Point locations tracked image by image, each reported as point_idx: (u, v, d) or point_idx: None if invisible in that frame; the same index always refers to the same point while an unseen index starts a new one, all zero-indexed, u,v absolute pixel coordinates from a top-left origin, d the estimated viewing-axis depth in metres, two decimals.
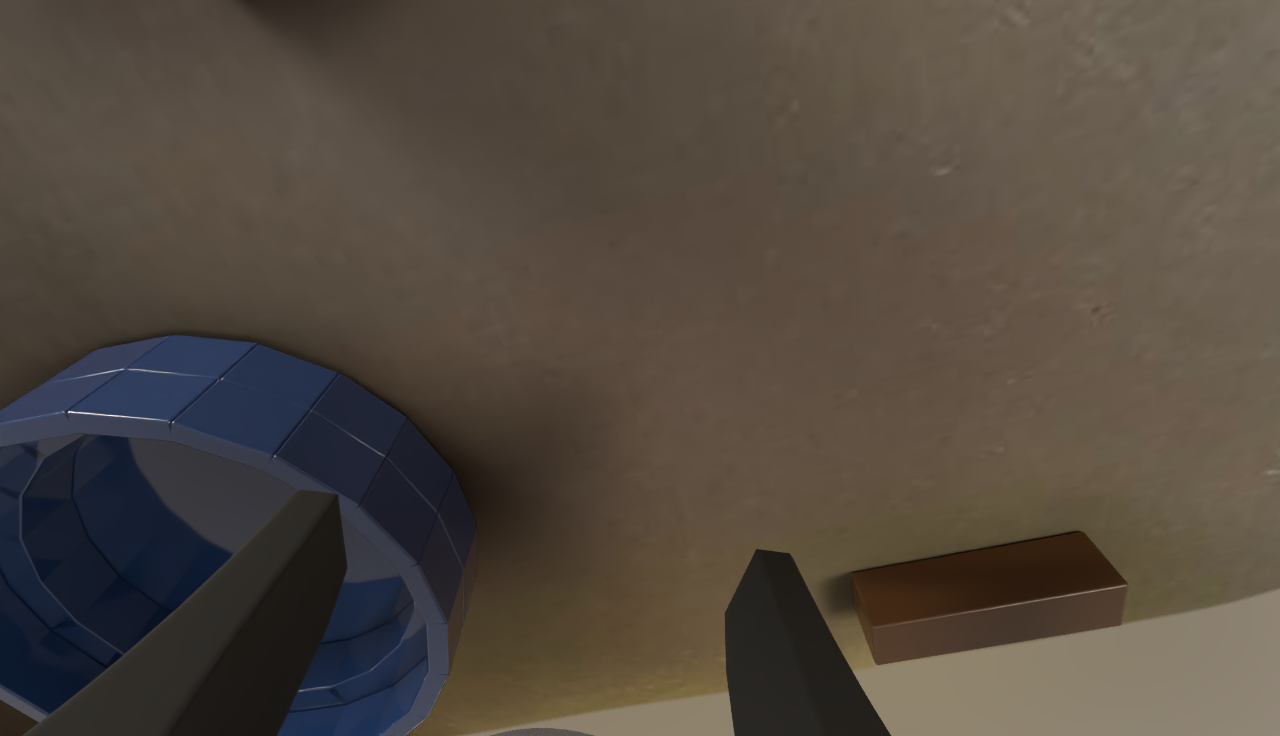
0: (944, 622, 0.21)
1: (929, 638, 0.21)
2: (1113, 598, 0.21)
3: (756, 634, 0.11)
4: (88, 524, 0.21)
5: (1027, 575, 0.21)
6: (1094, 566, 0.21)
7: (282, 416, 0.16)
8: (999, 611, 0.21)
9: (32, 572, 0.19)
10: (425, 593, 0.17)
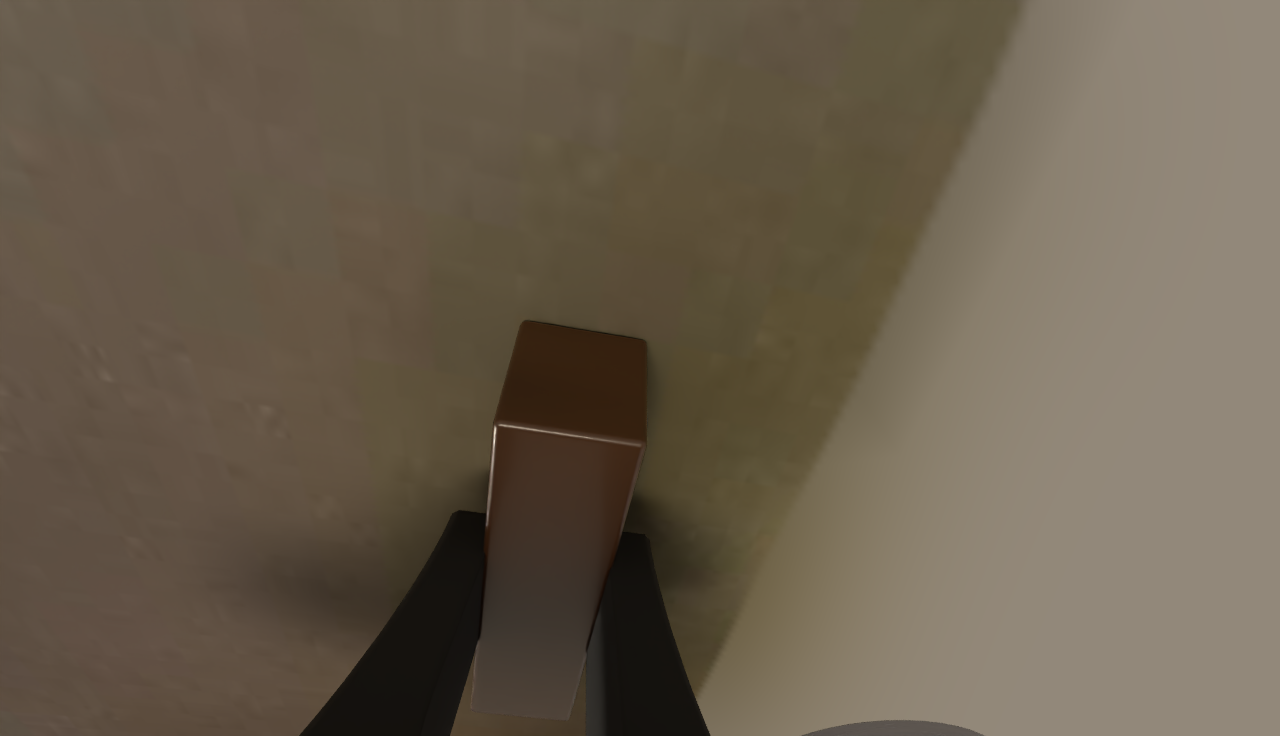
0: (489, 656, 0.12)
1: (527, 673, 0.12)
2: (531, 452, 0.08)
3: (601, 616, 0.10)
4: None
5: None
6: None
7: None
8: (495, 600, 0.11)
9: None
10: None
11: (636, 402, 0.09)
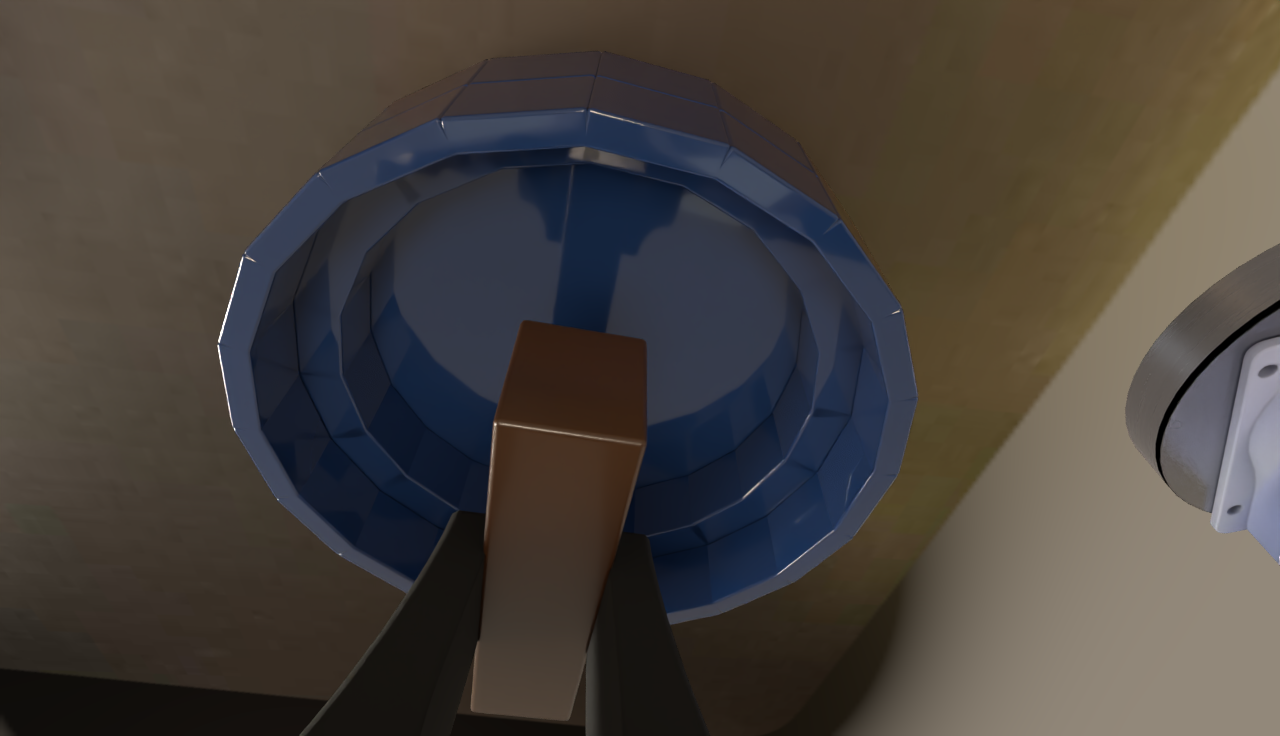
0: (490, 655, 0.12)
1: (527, 673, 0.12)
2: (530, 451, 0.08)
3: (601, 616, 0.10)
4: None
5: None
6: None
7: None
8: (494, 599, 0.11)
9: None
10: (651, 136, 0.10)
11: (636, 401, 0.09)
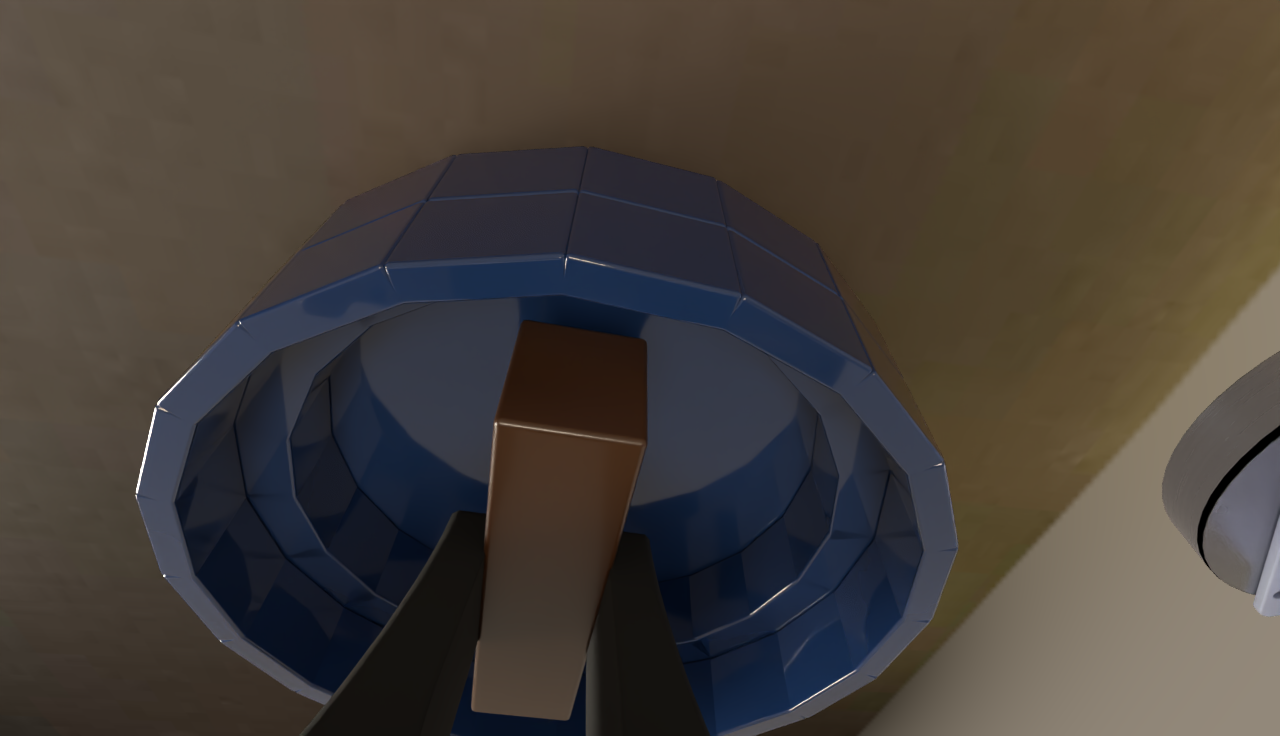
0: (490, 655, 0.12)
1: (527, 673, 0.12)
2: (531, 451, 0.08)
3: (601, 616, 0.10)
4: None
5: None
6: None
7: (266, 286, 0.10)
8: (495, 599, 0.11)
9: None
10: (644, 285, 0.08)
11: (637, 401, 0.09)
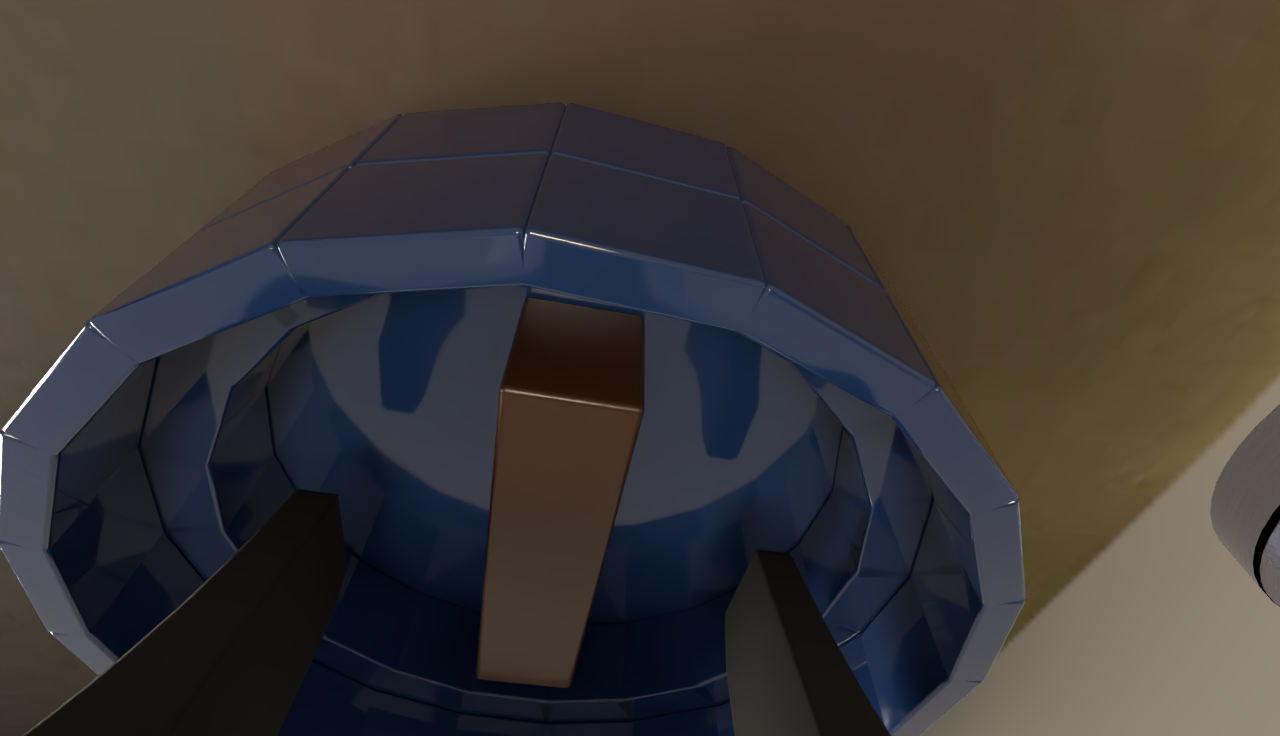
0: (494, 622, 0.12)
1: (530, 640, 0.12)
2: (534, 417, 0.09)
3: (756, 634, 0.11)
4: (469, 604, 0.16)
5: None
6: None
7: None
8: (499, 565, 0.11)
9: (450, 689, 0.15)
10: (634, 271, 0.06)
11: (634, 371, 0.09)
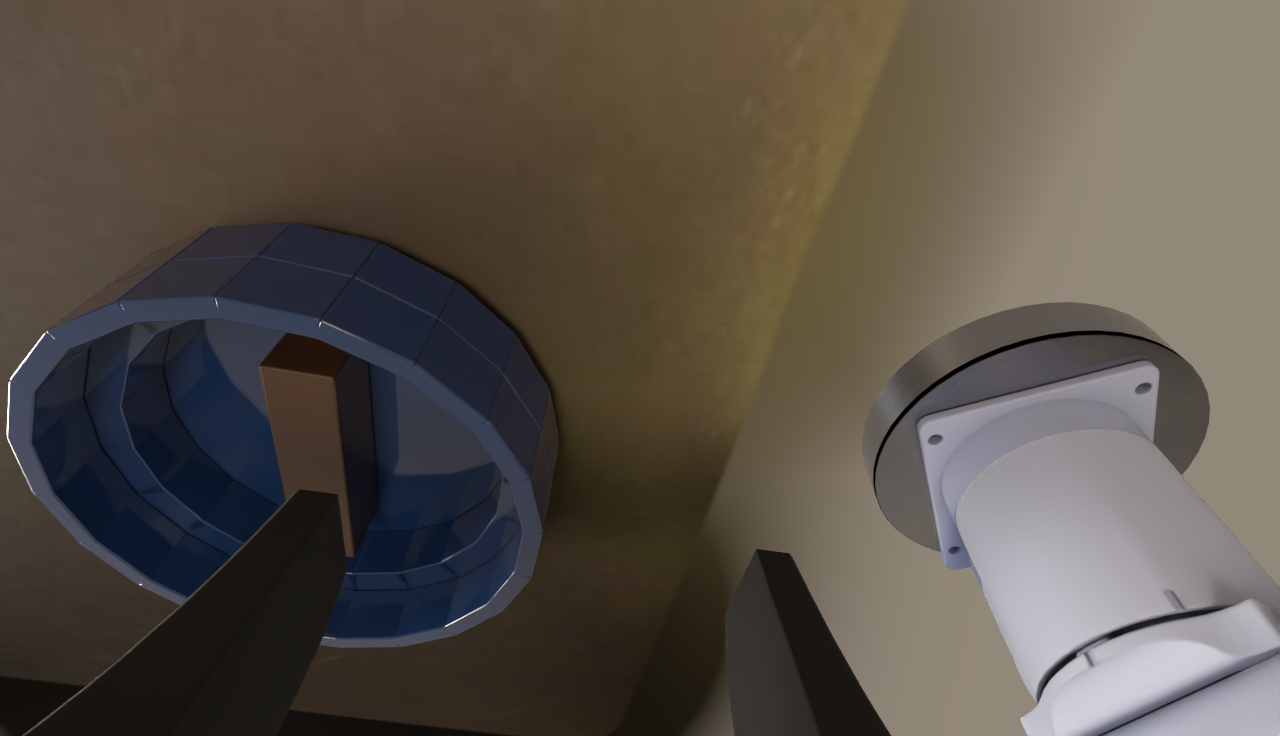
0: None
1: None
2: (279, 381, 0.17)
3: (756, 634, 0.11)
4: None
5: None
6: None
7: (78, 309, 0.16)
8: (286, 469, 0.20)
9: None
10: (262, 313, 0.14)
11: (339, 359, 0.18)
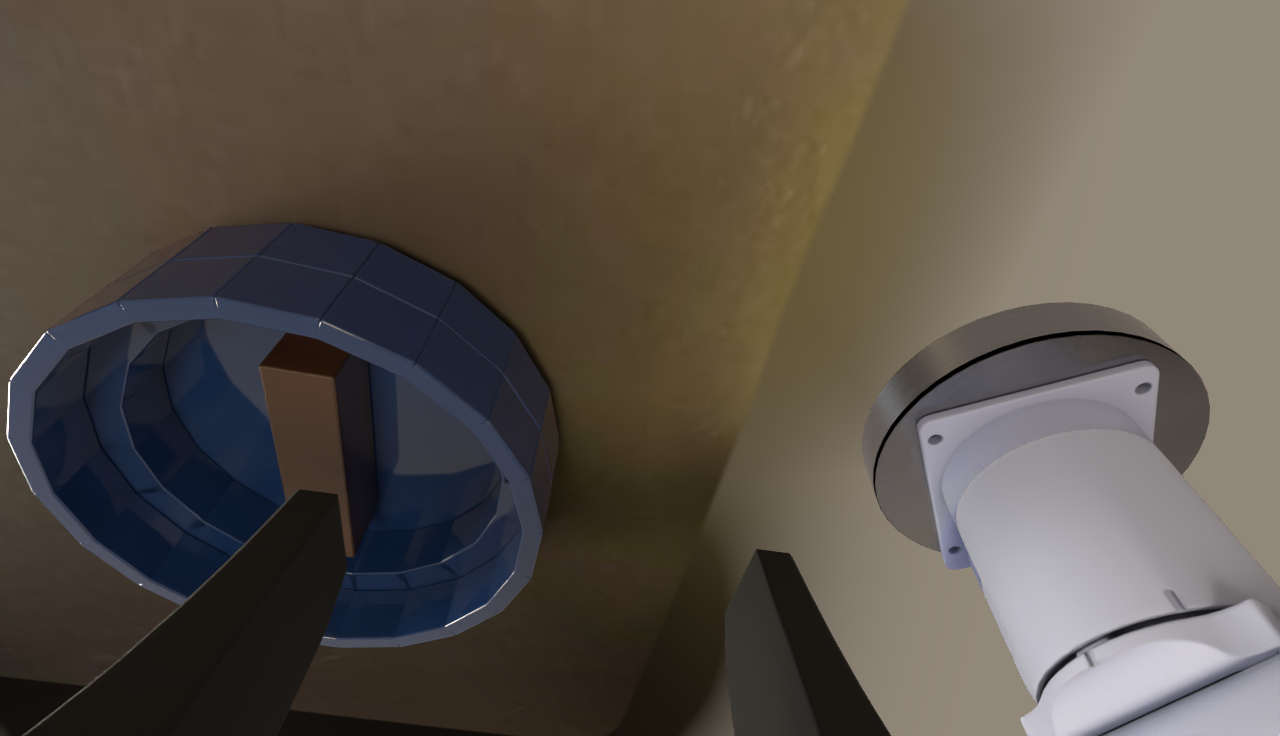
0: None
1: None
2: (279, 381, 0.17)
3: (756, 634, 0.11)
4: None
5: None
6: None
7: (78, 309, 0.16)
8: (286, 469, 0.20)
9: None
10: (262, 313, 0.14)
11: (339, 359, 0.18)
